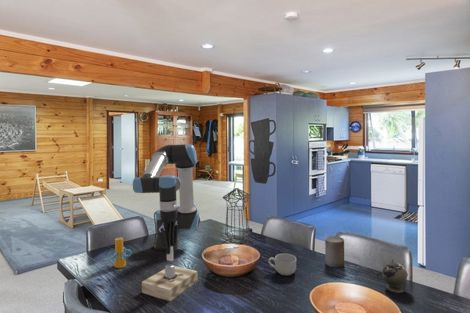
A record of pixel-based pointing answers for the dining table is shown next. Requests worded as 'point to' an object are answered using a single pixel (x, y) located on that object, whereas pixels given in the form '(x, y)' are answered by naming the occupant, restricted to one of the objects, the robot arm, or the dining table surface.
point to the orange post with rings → (119, 254)
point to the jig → (169, 283)
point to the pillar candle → (334, 251)
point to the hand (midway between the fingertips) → (170, 259)
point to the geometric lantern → (234, 213)
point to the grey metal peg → (170, 271)
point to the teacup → (284, 264)
